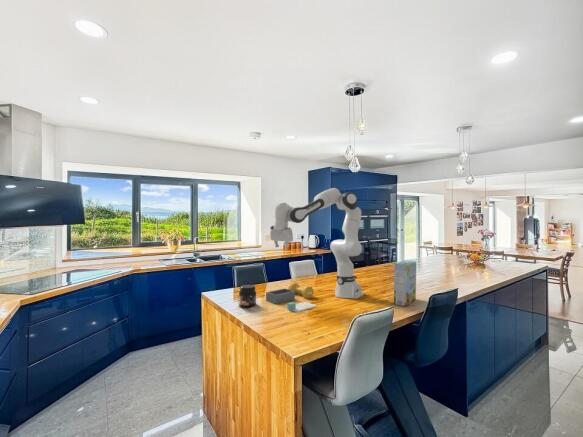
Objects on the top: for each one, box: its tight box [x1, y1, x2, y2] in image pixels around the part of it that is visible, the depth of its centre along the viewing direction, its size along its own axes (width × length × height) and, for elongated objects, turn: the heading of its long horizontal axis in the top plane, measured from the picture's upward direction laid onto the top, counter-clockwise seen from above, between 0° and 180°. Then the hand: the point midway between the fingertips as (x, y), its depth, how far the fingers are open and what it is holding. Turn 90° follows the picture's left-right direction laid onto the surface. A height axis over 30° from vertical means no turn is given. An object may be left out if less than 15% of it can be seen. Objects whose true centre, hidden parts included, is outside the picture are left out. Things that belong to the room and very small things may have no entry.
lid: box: [285, 301, 318, 313], centre depth 173 cm, size 18×10×4 cm, turn 131°
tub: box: [265, 288, 296, 305], centre depth 188 cm, size 16×10×6 cm, turn 131°
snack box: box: [393, 259, 417, 307], centre depth 185 cm, size 22×9×26 cm, turn 143°
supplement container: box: [238, 284, 257, 309], centre depth 177 cm, size 10×10×12 cm
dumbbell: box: [287, 282, 315, 299], centre depth 200 cm, size 19×9×8 cm, turn 40°
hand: (281, 247), depth 193 cm, fingers open, 8 cm apart
